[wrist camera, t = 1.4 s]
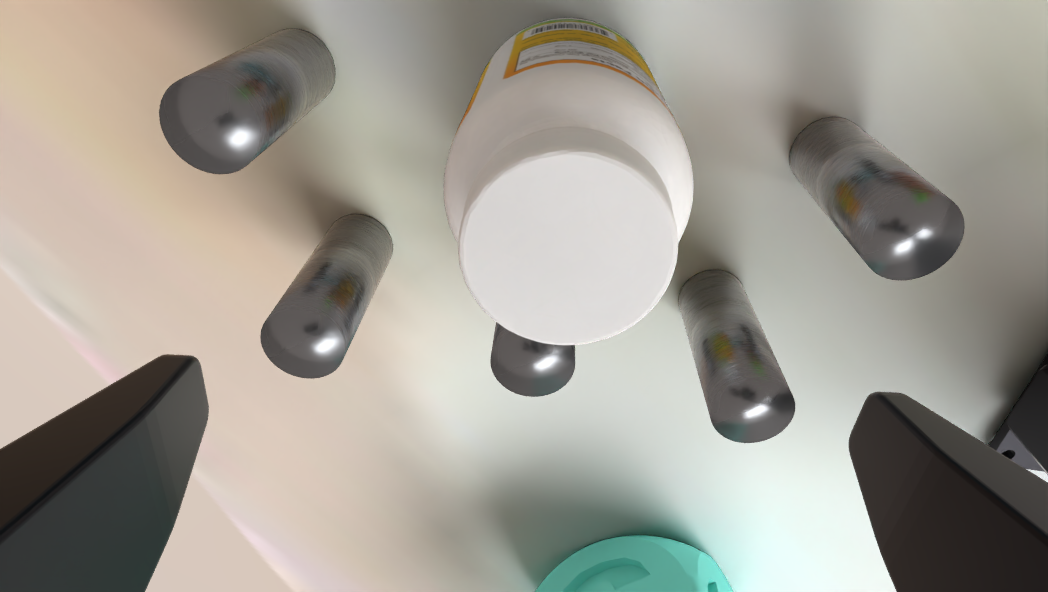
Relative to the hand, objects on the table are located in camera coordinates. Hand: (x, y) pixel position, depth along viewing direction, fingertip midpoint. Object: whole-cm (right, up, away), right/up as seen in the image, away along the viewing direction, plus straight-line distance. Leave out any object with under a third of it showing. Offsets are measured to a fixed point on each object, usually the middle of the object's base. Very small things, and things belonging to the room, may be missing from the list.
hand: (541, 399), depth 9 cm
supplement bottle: (+1, +7, +12) cm, 14 cm away
